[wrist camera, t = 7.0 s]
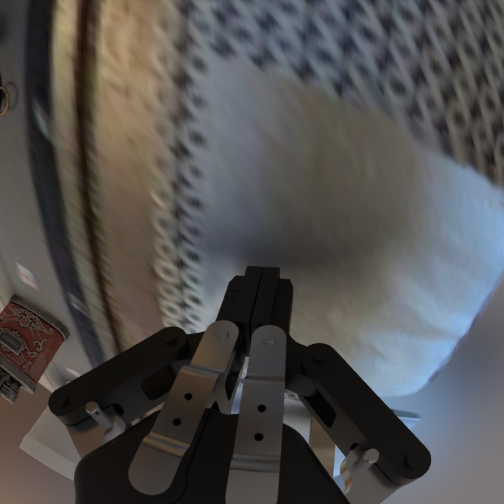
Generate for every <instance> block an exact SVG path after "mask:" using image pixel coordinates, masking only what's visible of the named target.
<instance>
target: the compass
mask: <svg viewBox="0 0 504 504" xmlns="http://www.w3.org/2000/svg"><path fill="white" fill-rule="evenodd" d="M0 89H3V90H4V91H5V93H6V96H7V107H6V109H5V111H4V112H2V113H1V112H0V115H4V114H5V113H6V112H7V110H8V107H9V95H8V91H7V90H6V89H5V88H4V87H2V86H1V87H0Z"/></svg>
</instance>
